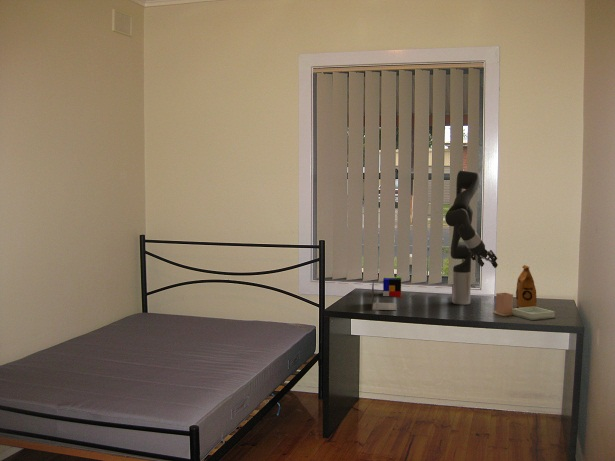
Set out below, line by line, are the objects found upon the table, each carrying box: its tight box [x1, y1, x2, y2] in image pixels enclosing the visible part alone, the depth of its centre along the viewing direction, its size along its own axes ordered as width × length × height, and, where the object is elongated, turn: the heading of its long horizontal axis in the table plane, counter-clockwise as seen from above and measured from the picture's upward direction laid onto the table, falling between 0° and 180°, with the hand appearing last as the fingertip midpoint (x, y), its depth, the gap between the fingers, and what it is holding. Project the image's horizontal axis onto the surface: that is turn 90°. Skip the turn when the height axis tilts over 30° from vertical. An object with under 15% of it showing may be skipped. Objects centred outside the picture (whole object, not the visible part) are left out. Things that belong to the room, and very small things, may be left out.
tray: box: [512, 306, 556, 321], centre depth 310 cm, size 14×14×3 cm
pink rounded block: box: [495, 292, 514, 313], centre depth 316 cm, size 6×7×9 cm
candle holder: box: [492, 310, 514, 317], centre depth 316 cm, size 8×8×5 cm
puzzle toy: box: [382, 276, 402, 298], centre depth 368 cm, size 10×10×10 cm
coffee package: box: [515, 264, 537, 308], centre depth 328 cm, size 10×12×22 cm
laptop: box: [371, 280, 397, 311], centre depth 334 cm, size 18×12×13 cm
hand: (489, 266), depth 310 cm, fingers open, 8 cm apart
